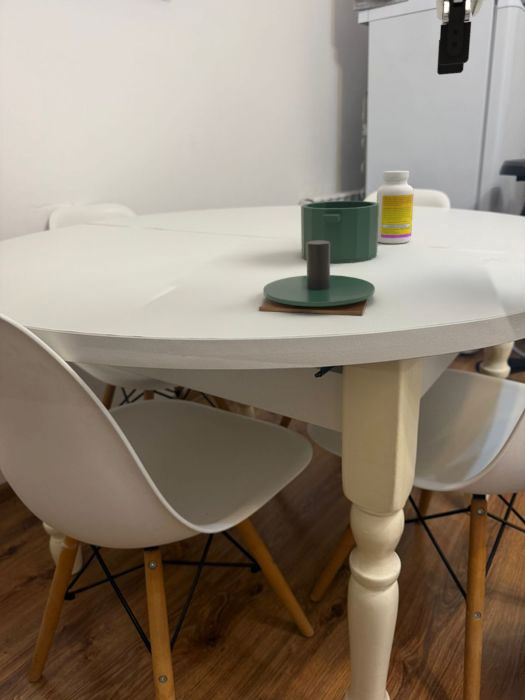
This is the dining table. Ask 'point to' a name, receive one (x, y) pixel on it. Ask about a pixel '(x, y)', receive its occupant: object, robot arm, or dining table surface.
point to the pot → (342, 229)
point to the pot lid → (318, 283)
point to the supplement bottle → (395, 208)
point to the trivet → (316, 308)
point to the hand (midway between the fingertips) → (451, 68)
